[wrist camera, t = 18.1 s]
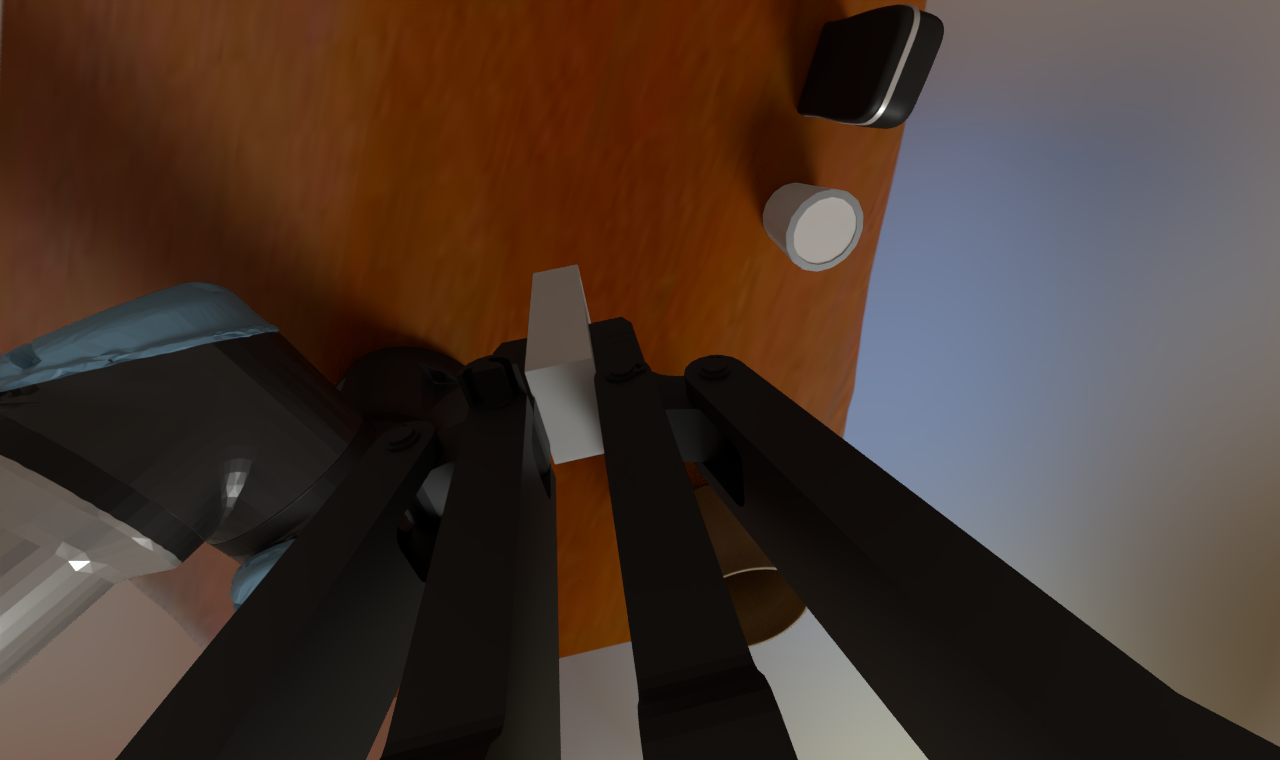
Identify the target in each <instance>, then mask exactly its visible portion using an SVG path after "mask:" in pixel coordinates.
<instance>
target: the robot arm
mask: <svg viewBox="0 0 1280 760" xmlns="http://www.w3.org/2000/svg"><path fill="white" fill-rule="evenodd" d="M279 332H280V329H279V328H278V327H277V326H275V325H273V324H269V323H268V322H267V321H265V320H264V319H263V318H262V317H261V316H260V315H258V314H257V313H256V312H255V311H254V310H252V309H251V308H250V307H249V306H248V305H247V304H246V303H245V302H243V301H242V300H241V299H240V298H239V297H238V296H237V295H235V294H234V293H233V292H231V291H230V290H228V289H227V288H225V287H222V286H220V285H217V284H213V283H209V282H188V283H183V284H179V285H175V286H172V287H169V288H166V289H163V290H160V291H157V292H153V293H151V294H148V295H145V296H142V297H139V298H137V299H134V300H131V301H128V302H126V303H123V304H120V305H118V306H115V307H112V308H110V309H107V310H105V311H102V312H99V313H97V314H94V315H92V316H89V317H87V318H84V319H82V320H79V321H77V322H75V323H72V324H70V325H67V326H65V327H62V328H60V329H57V330H55V331H53V332H51V333H48V334H46V335H44V336H41V337H39V338H37V339H35V340H33V341H32V342H31V343H29V344H25V345H22V346H20V347H18V348H15V349H13V350H11V351H9V352H7V353H5V354H2V355H0V687H1V686H2V685H3V684H4V683H5V682H6V681H7V680H8V679H10V678H11V677H12V676H13V675H14V674H15V673H17V672H18V671H19V670H20V669H21V668H22V667H23V666H24V665H25V664H26V663H28V662H29V661H30V660H31V659H32V658H33V657H34V656H35V655H37V654H38V653H39V652H40V651H41V650H42V649H43V648H44V647H46V646H47V645H48V644H49V643H50V642H51V641H52V640H53V639H54V638H55V637H57V636H58V635H59V634H60V633H61V632H62V631H63V630H64V629H66V628H67V627H68V626H69V625H70V624H71V623H72V622H73V621H74V620H75V619H77V618H78V617H79V616H80V615H81V614H82V613H83V612H85V611H86V610H87V609H88V608H89V607H90V606H91V605H92V604H93V603H95V602H96V601H97V600H98V599H99V598H100V597H101V596H102V595H104V594H105V593H106V592H107V591H108V590H109V589H110V588H111V587H112V586H114V585H115V584H117V583H119V582H121V581H124V580H126V579H128V578H131V577H136V576H141V575H146V574H151V573H156V572H161V571H166V570H170V569H175V568H176V567H178V566H179V565H180V564H182V563H183V562H184V561H185V560H186V559H187V558H188V557H189V556H190V555H191V554H192V553H193V552H194V551H195V550H196V549H197V548H199V547H200V546H201V545H202V544H203V543H204V542H207V543H208V544H210V545H212V546H213V547H215V548H217V549H218V550H220V551H222V552H223V553H225V554H226V555H228V556H229V557H231V558H233V559H234V560H236V561H237V562H239V563H240V564H241V565H242V566H240V567H239V568H238V570H237V571H236V573H235V574H234V576H233V580H232V588H231V592H230V597H231V600H232V601H233V602H234V604H233V608H234V610H235V613H234V615H233V616H232V617H231V618H230V620H229V621H228V622H227V623H226V624H225V626H224V627H223V628H222V629H221V631H220V632H219V633H218V634H217V635H216V637H215V638H214V639H213V640H212V642H211V643H210V644H209V645H208V647H207V648H206V649H205V650H204V651H203V653H202V654H201V655H200V656H199V658H198V659H197V660H196V661H195V663H194V664H193V665H192V666H191V667H190V669H189V670H188V671H187V672H186V674H185V675H184V676H183V677H182V678H181V680H180V681H179V682H178V683H177V685H176V686H175V687H174V688H173V689H172V691H171V692H170V693H169V694H168V696H167V697H166V698H165V699H164V700H163V702H162V703H161V704H160V705H159V707H158V708H157V709H156V710H155V712H154V713H153V714H152V715H151V717H150V718H149V719H148V720H147V721H146V723H145V724H144V725H143V726H142V727H141V729H140V730H139V731H138V732H137V734H136V735H135V736H134V737H133V739H132V740H131V741H130V742H129V743H128V745H127V746H126V747H125V748H124V750H123V751H122V752H121V753H120V755H119V756H118V757H117V758H116V759H115V760H366V758H367V756H368V754H369V752H370V749H371V747H372V745H373V742H374V741H375V738H376V736H377V734H378V732H379V730H380V727H381V725H382V723H383V721H384V719H385V716H386V714H387V712H388V710H389V708H390V706H391V703H392V701H393V699H394V697H395V695H396V692H397V690H398V688H399V686H400V688H399V692H398V696H397V700H396V704H395V708H394V712H393V716H392V721H391V725H390V729H389V733H388V737H387V741H386V745H385V747H384V750H383V753H382V756H381V758H380V760H561V746H560V745H561V744H560V693H559V636H558V582H557V528H556V478H555V475H554V472H553V469H552V466H551V463H550V451H551V454H552V457H553V460H554V463H555V464H559V463H563V462H568V461H572V460H577V459H581V458H586V457H590V456H595V455H599V454H604V455H605V462H606V468H607V475H608V482H609V489H610V496H611V503H612V510H613V517H614V524H615V531H616V538H617V545H618V552H619V559H620V566H621V573H622V580H623V587H624V594H625V601H626V607H627V614H628V621H629V628H630V635H631V642H632V649H633V656H634V663H635V670H636V677H637V684H638V693H639V702H638V719H639V729H640V737H641V745H642V753H643V760H798V759H797V756H796V753H795V751H794V748H793V745H792V742H791V740H790V737H789V734H788V731H787V729H786V726H785V724H784V721H783V718H782V715H781V713H780V710H779V707H778V705H777V702H776V700H775V697H774V695H773V692H772V690H771V687H770V685H769V683H768V682H767V680H766V678H765V676H764V675H763V674H762V673H761V672H760V671H759V670H758V669H757V667H756V666H755V664H754V661H753V659H752V656H751V653H750V651H749V648H748V645H747V642H746V639H745V636H744V634H743V631H742V628H741V625H740V622H739V619H738V616H737V614H736V611H735V608H734V605H733V602H732V599H731V597H730V594H729V591H728V588H727V585H726V582H725V579H724V577H723V574H722V571H721V568H720V565H719V562H718V559H717V557H716V554H715V551H714V548H713V545H712V542H711V540H710V537H709V534H708V531H707V528H706V525H705V522H704V520H703V517H702V514H701V511H700V508H699V505H698V502H697V500H696V497H695V494H694V491H693V488H692V485H691V482H690V480H689V477H688V474H687V471H686V468H685V465H684V463H683V462H695V465H696V467H697V469H698V471H699V472H700V473H701V475H702V476H703V477H704V478H705V480H706V481H707V482H708V484H709V485H710V486H711V487H712V489H713V490H714V491H715V492H716V494H717V495H718V496H719V497H720V499H721V500H722V501H723V502H724V504H725V505H726V506H727V507H728V509H729V510H730V511H731V512H732V514H733V515H734V516H735V517H736V519H737V520H738V521H739V522H740V524H741V525H742V526H743V527H744V529H745V530H746V531H747V532H748V534H749V535H750V536H751V537H752V539H753V540H754V541H755V542H756V544H757V545H758V546H759V547H760V549H761V550H762V551H763V553H764V554H765V555H766V556H767V558H768V559H769V560H770V561H771V563H772V564H773V565H774V566H775V568H776V569H777V570H778V571H779V573H780V574H781V575H782V576H783V578H784V579H785V580H786V581H787V583H788V584H789V585H790V586H791V588H792V589H793V590H794V591H795V593H796V594H797V595H798V596H799V598H800V599H801V600H802V601H803V603H804V604H805V605H806V606H807V608H808V609H809V610H810V611H811V613H812V614H813V615H814V616H815V618H816V619H817V620H818V621H819V623H820V624H821V625H822V626H823V628H824V629H825V630H826V632H827V633H828V634H829V635H830V637H831V638H832V639H833V640H834V641H835V642H836V644H837V645H838V647H839V648H840V649H841V650H842V651H843V653H844V654H845V655H846V657H847V658H848V659H849V660H850V662H851V663H852V664H853V665H854V667H855V668H856V669H857V670H858V672H859V673H860V674H861V675H862V677H863V678H864V679H865V680H866V682H867V683H868V684H869V685H870V687H871V688H872V689H873V690H874V692H875V693H876V694H877V695H878V697H879V698H880V699H881V700H882V702H883V703H884V704H885V705H886V707H887V708H888V709H889V711H890V712H891V713H892V714H893V716H894V717H895V718H896V719H897V721H898V722H899V723H900V724H901V725H902V727H903V728H904V729H905V730H906V732H907V733H908V734H909V736H910V737H911V738H912V739H913V741H914V742H915V743H916V744H917V746H918V747H919V748H920V749H921V751H922V752H923V753H924V754H925V756H926V757H927V758H928V759H929V760H1280V747H1279V746H1277V745H1274V744H1273V743H1271V742H1269V741H1267V740H1265V739H1264V738H1262V737H1260V736H1258V735H1256V734H1254V733H1252V732H1250V731H1248V730H1246V729H1245V728H1243V727H1241V726H1239V725H1237V724H1235V723H1233V722H1231V721H1229V720H1227V719H1226V718H1224V717H1222V716H1220V715H1218V714H1216V713H1214V712H1212V711H1210V710H1208V709H1206V708H1205V707H1203V706H1201V705H1199V704H1197V703H1195V702H1193V701H1191V700H1189V699H1188V698H1186V697H1184V696H1182V695H1180V694H1178V693H1177V692H1175V691H1174V690H1173V689H1171V688H1170V687H1169V686H1167V685H1166V684H1165V683H1163V682H1162V681H1161V680H1159V679H1158V678H1156V677H1155V676H1154V675H1153V674H1152V673H1150V672H1149V671H1148V670H1146V669H1145V668H1144V667H1142V666H1141V665H1140V664H1138V663H1137V662H1136V661H1134V660H1133V659H1132V658H1130V657H1129V656H1128V655H1127V654H1125V653H1124V652H1123V651H1121V650H1120V649H1119V648H1117V647H1116V646H1115V645H1113V644H1112V643H1111V642H1109V641H1108V640H1107V639H1105V638H1104V637H1103V636H1101V635H1100V634H1099V633H1097V632H1096V631H1095V630H1094V629H1092V628H1091V627H1090V626H1088V625H1087V624H1086V623H1084V622H1083V621H1082V620H1080V619H1079V618H1078V617H1077V616H1075V615H1074V614H1073V613H1071V612H1070V611H1069V610H1067V609H1066V608H1065V607H1063V606H1062V605H1061V604H1059V603H1058V602H1057V601H1055V600H1054V599H1053V598H1052V597H1050V596H1049V595H1048V594H1046V593H1045V592H1043V591H1042V590H1041V589H1040V588H1038V587H1037V586H1036V585H1034V584H1033V583H1032V582H1030V581H1029V580H1028V579H1026V578H1025V577H1024V576H1023V575H1021V574H1020V573H1019V572H1017V571H1016V570H1015V569H1013V568H1012V567H1011V566H1009V565H1008V564H1007V563H1005V562H1004V561H1003V560H1002V559H1000V558H999V557H998V556H996V555H995V554H994V553H992V552H991V551H990V550H988V549H987V548H986V547H984V546H983V545H982V544H980V543H979V542H978V541H977V540H975V539H974V538H973V537H971V536H970V535H969V534H967V533H966V532H965V531H963V530H962V529H961V528H959V527H958V526H957V525H955V524H954V523H953V522H952V521H950V520H949V519H948V518H946V517H945V516H944V515H942V514H941V513H940V512H938V511H937V510H935V509H934V508H933V507H932V506H930V505H929V504H928V503H926V502H925V501H924V500H923V499H921V498H920V497H919V496H917V495H916V494H915V493H913V492H912V491H911V490H909V489H908V488H907V487H905V486H904V485H903V484H902V483H900V482H899V481H898V480H896V479H895V478H894V477H892V476H891V475H890V474H888V473H887V472H886V471H884V470H883V469H882V468H880V467H879V466H878V465H877V464H875V463H874V462H873V461H871V460H870V459H869V458H867V457H866V456H865V455H863V454H862V453H861V452H859V451H858V450H857V449H855V448H854V447H853V446H852V445H850V444H849V443H848V442H846V441H845V440H844V439H842V438H841V437H840V436H838V435H837V434H836V433H834V432H833V431H832V430H830V429H829V428H828V427H827V426H825V425H824V424H823V423H821V422H820V421H819V420H817V419H816V418H815V417H813V416H812V415H811V414H809V413H808V412H807V411H805V410H804V409H803V408H802V407H800V406H799V405H798V404H796V403H795V402H794V401H792V400H791V399H790V398H788V397H787V396H786V395H784V394H783V393H782V392H780V391H779V390H778V389H777V388H775V387H774V386H773V385H771V384H770V383H769V382H767V381H766V380H765V379H763V378H762V377H761V376H759V375H758V374H757V373H755V372H754V371H753V370H752V369H750V368H749V367H748V366H746V365H745V364H744V363H742V362H741V361H739V360H737V359H735V358H733V357H729V356H724V355H709V356H706V357H702V358H699V359H697V360H695V361H693V362H691V363H690V364H689V365H688V366H687V367H686V368H685V373H684V376H665V375H660V374H657V373H654V372H652V371H651V368H650V367H649V366H648V364H647V363H646V362H645V361H644V358H643V355H642V352H641V350H640V347H639V344H638V341H637V338H636V335H635V333H634V329H633V326H632V323H631V322H629V321H628V320H626V319H624V318H623V317H619V318H614V319H609V320H604V321H600V322H595V323H591V322H590V317H589V313H588V308H587V304H586V300H585V295H584V291H583V286H582V282H581V278H580V273H579V269H578V265H573V266H568V267H563V268H558V269H553V270H548V271H543V272H538V273H533V282H532V293H531V305H530V316H529V327H528V338H524V339H519V340H515V341H510V342H505V343H502V344H501V345H500V346H499V347H498V348H497V349H496V350H495V352H494V353H493V355H489V356H486V357H483V358H479V359H477V360H475V361H473V362H471V363H469V364H467V365H466V366H465V367H463V366H462V365H461V364H459V363H458V362H456V361H454V360H453V359H451V358H449V357H447V356H444V355H442V354H439V353H436V352H433V351H430V350H426V349H421V348H413V347H395V348H387V349H382V350H378V351H375V352H372V353H370V354H368V355H366V356H364V357H362V358H360V359H359V360H357V361H356V362H354V363H353V364H352V365H351V366H350V367H349V368H348V369H347V370H346V371H345V373H344V374H343V376H342V377H341V378H340V380H339V381H338V383H337V384H336V386H334V385H333V384H332V383H330V382H329V381H328V380H327V379H326V378H325V377H324V376H323V375H322V374H321V373H320V372H319V371H318V370H317V369H316V368H315V367H314V366H313V365H312V364H311V363H310V362H309V361H308V360H307V359H306V358H305V357H304V356H303V355H302V354H301V353H300V352H299V351H298V350H297V349H296V348H295V347H294V346H293V345H292V344H291V343H290V342H289V341H288V340H287V339H286V338H284V337H283V336H282V335H281V334H280V333H279Z"/></svg>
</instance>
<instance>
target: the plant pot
mask: <svg viewBox="0 0 1280 760" xmlns="http://www.w3.org/2000/svg"><path fill="white" fill-rule="evenodd" d="M694 494H695V497H696V500H697V502H698V505H699V508H700V511H701V514H702V517H703V520H704V522H705V525H706V528H707V531H708V534H709V537H710V540H711V542H712V545H713V548H714V551H715V554H716V557H717V559H718V562H719V565H720V568H721V571H722V574H723V577H724V579H725V582H726V585H727V588H728V591H729V594H730V597H731V599H732V602H733V605H734V608H735V611H736V614H737V616H738V619H739V622H740V625H741V628H742V631H743V634H744V636H745V639H746V642H747V645H748V647H751V646H755V645H758V644H761V643H764V642H766V641H769V640H771V639H773V638H775V637H777V636H779V635H780V634H782V633H784V632H785V631H787V630H788V629H789V628H791V627H792V626H793V625H794V624H795V623H797V622H798V621H799V619H801V617H802V616H803V615H804V614H805V612H806V611H807V609H808V608H807V606H806V605H805V604H804V603H803V601H802V600H801V599H800V598H799V596H798V595H797V594H796V593H795V591H794V590H793V589H792V588H791V586H790V585H789V584H788V583H787V581H786V580H785V579H784V578H783V576H782V575H781V574H780V573H779V571H778V570H777V569H776V568H775V566H774V565H773V564H772V563H771V561H770V560H769V559H768V558H767V556H766V555H765V554H764V553H763V551H762V550H761V549H760V547H759V546H758V545H757V544H756V542H755V541H754V540H753V539H752V537H751V536H750V535H749V534H748V532H747V531H746V530H745V529H744V527H743V526H742V525H741V524H740V522H739V521H738V520H737V519H736V517H735V516H734V515H733V514H732V512H731V511H730V510H729V509H728V507H727V506H726V505H725V504H724V502H723V501H722V500H721V499H720V497H719V496H718V495H717V494H716V492H715V491H714V490H713V489H712V487H711V486H710V485H706V486H702V487H699V488H697V489H695V490H694Z"/></svg>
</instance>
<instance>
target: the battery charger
mask: <svg viewBox="0 0 1280 760" xmlns="http://www.w3.org/2000/svg"><path fill="white" fill-rule="evenodd" d="M943 34H944V26H943V23H942V21H941V20H940V19H939V18H938V17H937V16H935V15H933V14H930V13H927V12H924V11H921V10H919V9H918V8H917V7H915V6H912V5H907V4H904V5H892V6H886V7H881V8H877V9H873V10H870V11H867V12H864V13H860V14H858V15H855V16H852V17H849V18H846V19H841V20H837V21H831V22H827V23H826V24H825V25H824V28H823V31H822V34H821V37H820V40H819V43H818V46H817V49H816V52H815V55H814V58H813V61H812V64H811V67H810V70H809V73H808V77H807V80H806V83H805V86H804V89H803V92H802V96H801V99H800V102H799V106H798V109H797V111H798V113H800V114H802V115H803V116H805V117H814V118H823V119H827V120H831V121H835V122H839V123H844V124H851V125H856V126H862V127H870V128H882V129H888V128H893V127H897V126H898V125H900V124H902V123H903V122H904V121H905V120H906V119H907V118H908V116H909V115H910V114H911V112H912V110H913V108H914V106H915V104H916V102H917V100H918V97H919V95H920V93H921V91H922V88H923V86H924V84H925V81H926V79H927V77H928V74H929V72H930V70H931V67H932V65H933V62H934V60H935V57H936V55H937V53H938V50H939V48H940V45H941V42H942V39H943Z"/></svg>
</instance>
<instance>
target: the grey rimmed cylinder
mask: <svg viewBox="0 0 1280 760" xmlns="http://www.w3.org/2000/svg"><path fill="white" fill-rule="evenodd" d="M763 227H764V229H765V231H766V232H767V234H768V236H769V237H770V238H771V239H772V240H773V241H774V242H775V243H776V244H777V246H778V247H779V248H780V249H781V250H782V251H783V252H784V253H785V254H786V255H787V256H788V257H789V258H790V259H791V260H792V261H793V262H794V263H795V264H797V265H798V266H799V267H801V268H802V269H804V270H811V271H821V270H825V269H829V268H832V267H834V266H835V265H837V264H838V263H840V262H841V261H843V260H844V259H846V257H847V256H848V255H849V254H850V252H851V251H852V250H853V249H854V248H855V246H856V245H857V242H858V240H859V237H860V235H861V232H862V230H863V212H862V209H861V207H860V204H859V202H858V200H857V199H856V198H854V197H853V196H852V195H851V194H850V193H849V192H847V191H842V190H837V189H831V188H825V187H820V186H814V185H808V184H802V183H796V182H795V183H791V184H787V185H784V186H782V187H781V188H779V189H778V190H777V191H775V192H774V193H773V194H772V196H771V197H770V198H769V200H768V201H767V203H766V205H765V209H764V212H763Z"/></svg>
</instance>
